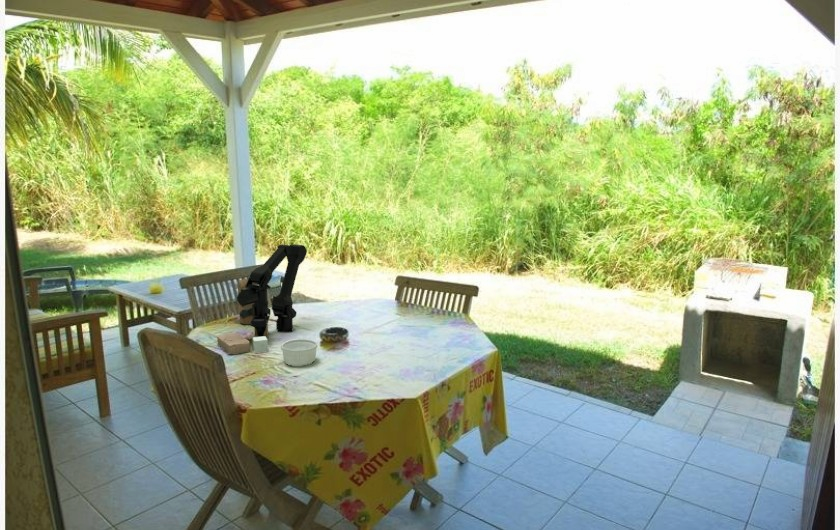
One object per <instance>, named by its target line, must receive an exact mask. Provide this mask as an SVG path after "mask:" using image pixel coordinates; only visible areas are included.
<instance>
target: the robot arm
mask: <svg viewBox="0 0 840 530" xmlns="http://www.w3.org/2000/svg"><path fill="white" fill-rule="evenodd" d="M307 252H308V250H307V248H306V245H303V244H294V243H291V244H282V243H281V244H279V245H278V246H277V249H275V251H274V252H273V253H272V255H271V256H269V258H268V259H267V260H266V261H265V262H264V264H262V265H260V266H258V267H256V268H255V269H253V270H252V271H251V272H250V275H249V277H248V278H247V279H248V281H247V283H246V286H245V289H241V292H240V293H239V294H238V293H237V297H236V300H237V303H238V305H239V304H240V305H241V306H246V305H249V304H252V303H253V305H252V306H249V307H247V308H244V309H241V310H240V312H239V311H238V314H239V313H240V316H239V318H240V317H241V318H242V319H245V318H246V317H249V316H251V315H252V317H254V318H253V319H252V320H251V324H250V327H253V329H254V328H256V330H257V334H258V337H261V336H263V335H264V332H265V329H266V326H267V324H268V323H269V320H270V318H271V317H270V316H271V314H272V313H273V316H274V317H277V318H276V330H277V332H278V333H287V332H290V333H291V332H293V330H294V325H293V323H294V322H293V321H294V320H293V319H295V318H296V317H297V314H298V313H297V312H298V311H296V310H295V309H294V307H293V304H294V303H293V299H292V293H293V289H294V285H295V282H296V278H297V276H298V275H297V274H298V270H299V267H300V266H301V264H302V263H303V262H304V261H305V258H306V256H307V254H308V253H307ZM285 258H286V260H287V266H286V269H285V273H284V275H283V276H284V277H283V280H282V284H281V288H280V292H279V294H278V295H277V296H276V295H275V296H273V299H272V302H271V309H270V307H269V306H268V305H269V301H268V290H269V289H271V288H272V287H271V286H270V285H269V283H270V281H271V279H272V278H273V273H274V271H276V269H277V268H278V267H279V265H280V264H281V263H282V262H283V261H284V260H285ZM252 284H255V285H252ZM271 310H272V313H271ZM255 316H256V317H255Z"/></svg>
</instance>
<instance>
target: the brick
mask: <svg viewBox="0 0 840 530" xmlns="http://www.w3.org/2000/svg"><path fill="white" fill-rule="evenodd" d="M216 338H217V341H216V342H217V346H218V347H220V346H221V349H222V348H223V349H224V351H225V352H226V353H227V354H228V353H229V354H228V355H238V354H244V353H249V352H250V351H251V345H250V344H251V343H250V341H249V340H248V339H246V338H244V337H243V336H242V335H241V334H240V333H238V332H235V331H233V332H225V333H223V334H217V337H216ZM223 349H222V350H223Z"/></svg>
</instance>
